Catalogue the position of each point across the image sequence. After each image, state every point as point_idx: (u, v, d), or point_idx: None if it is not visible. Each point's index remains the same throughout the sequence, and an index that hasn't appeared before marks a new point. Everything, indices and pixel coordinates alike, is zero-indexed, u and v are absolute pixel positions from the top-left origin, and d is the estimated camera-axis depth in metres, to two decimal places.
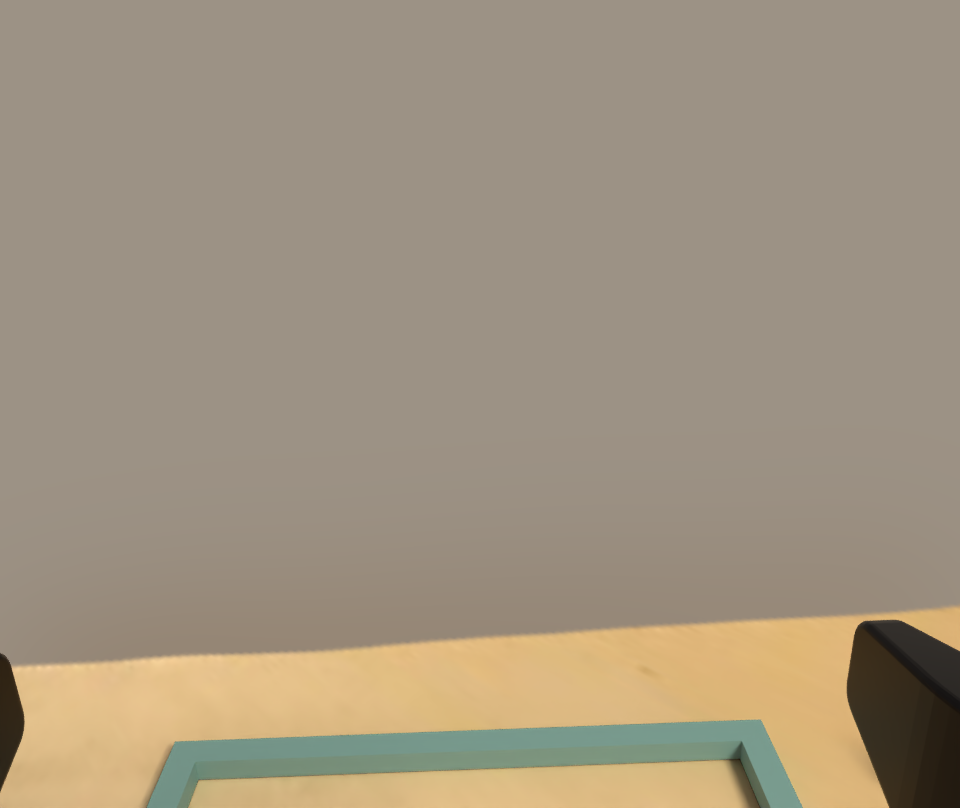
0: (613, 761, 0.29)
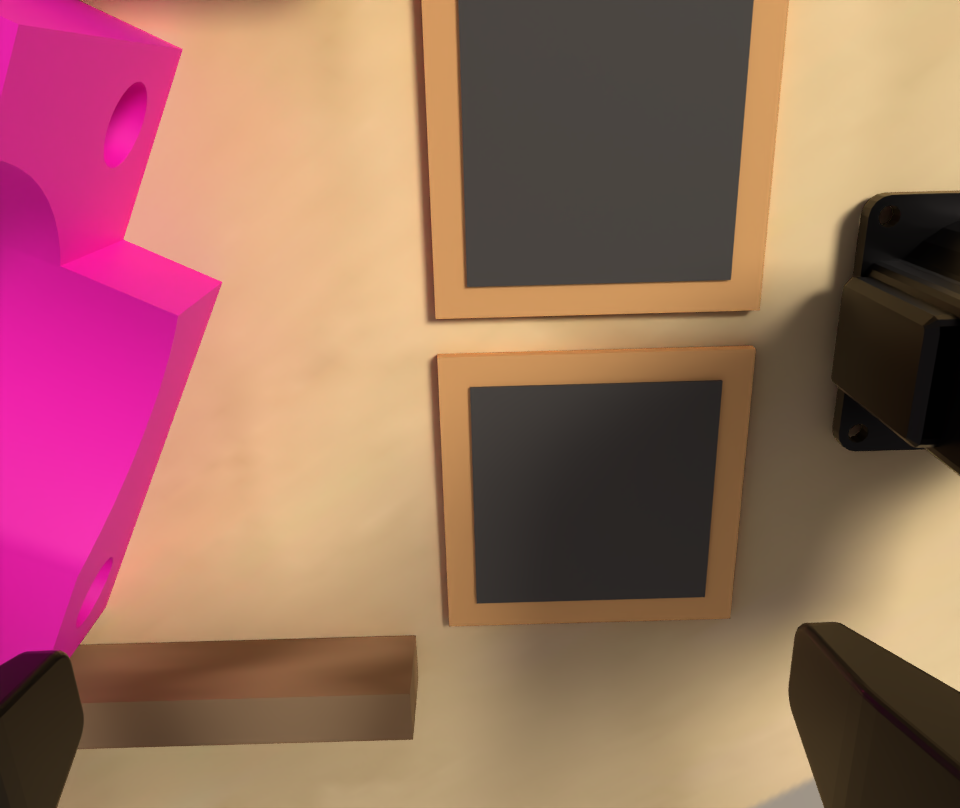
0: None
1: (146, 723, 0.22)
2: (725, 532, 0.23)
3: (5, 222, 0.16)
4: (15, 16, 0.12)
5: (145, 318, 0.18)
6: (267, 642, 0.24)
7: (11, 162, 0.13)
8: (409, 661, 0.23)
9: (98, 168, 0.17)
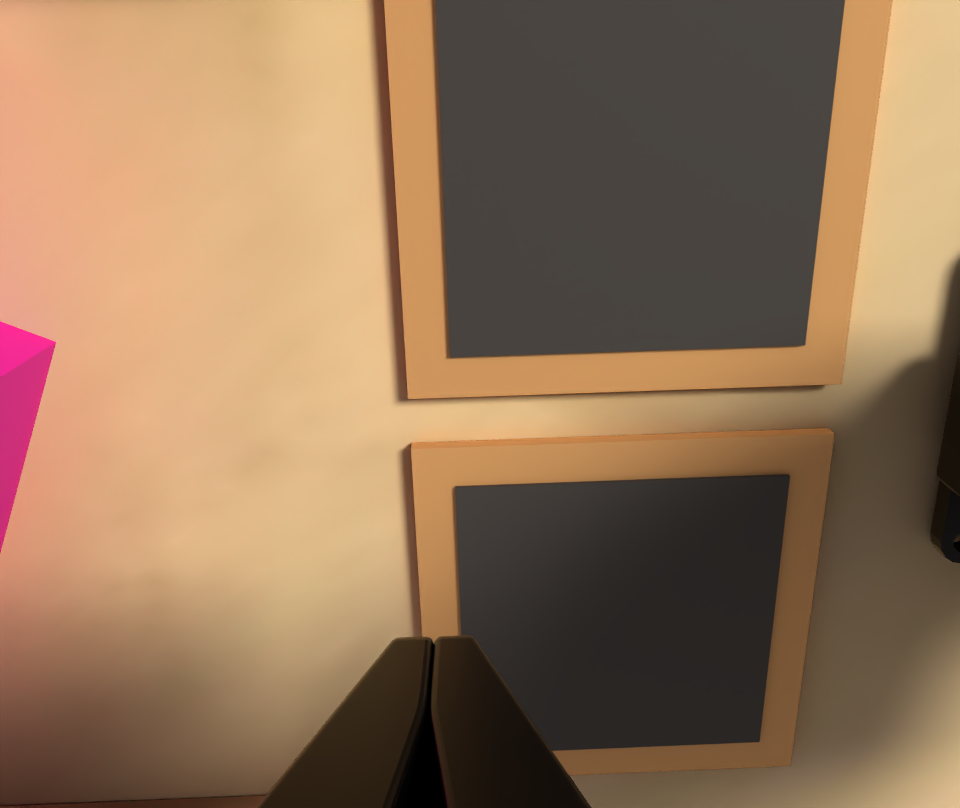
0: None
1: None
2: (787, 663, 0.18)
3: None
4: None
5: None
6: (197, 802, 0.19)
7: None
8: None
9: None
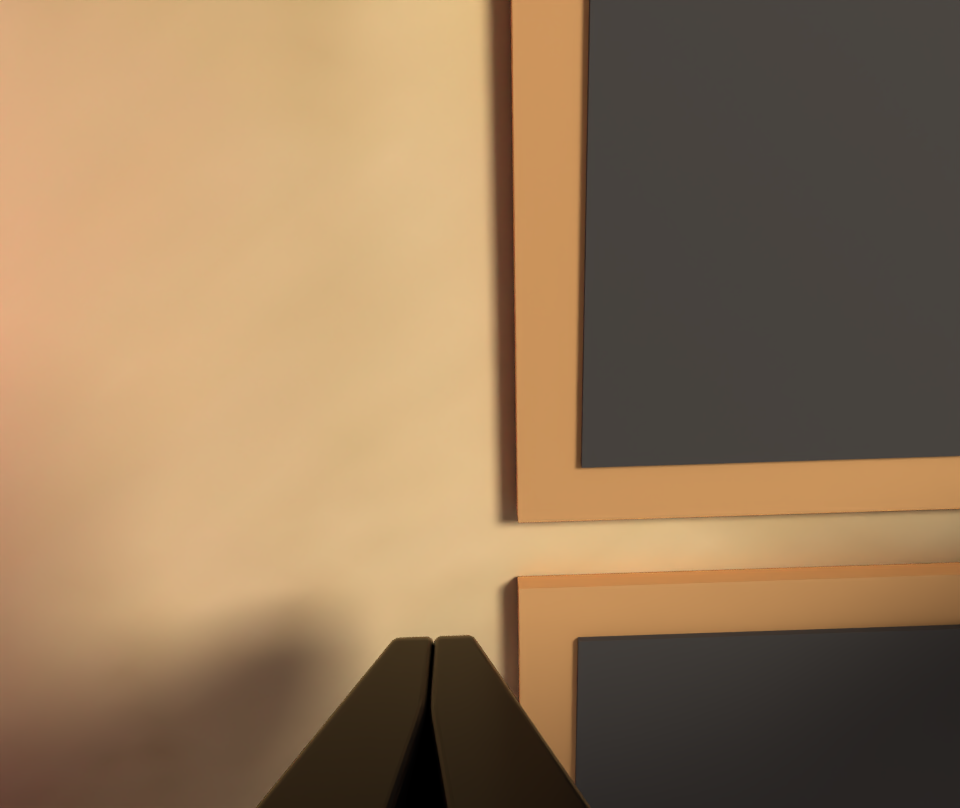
0: None
1: None
2: None
3: None
4: None
5: None
6: None
7: None
8: None
9: None
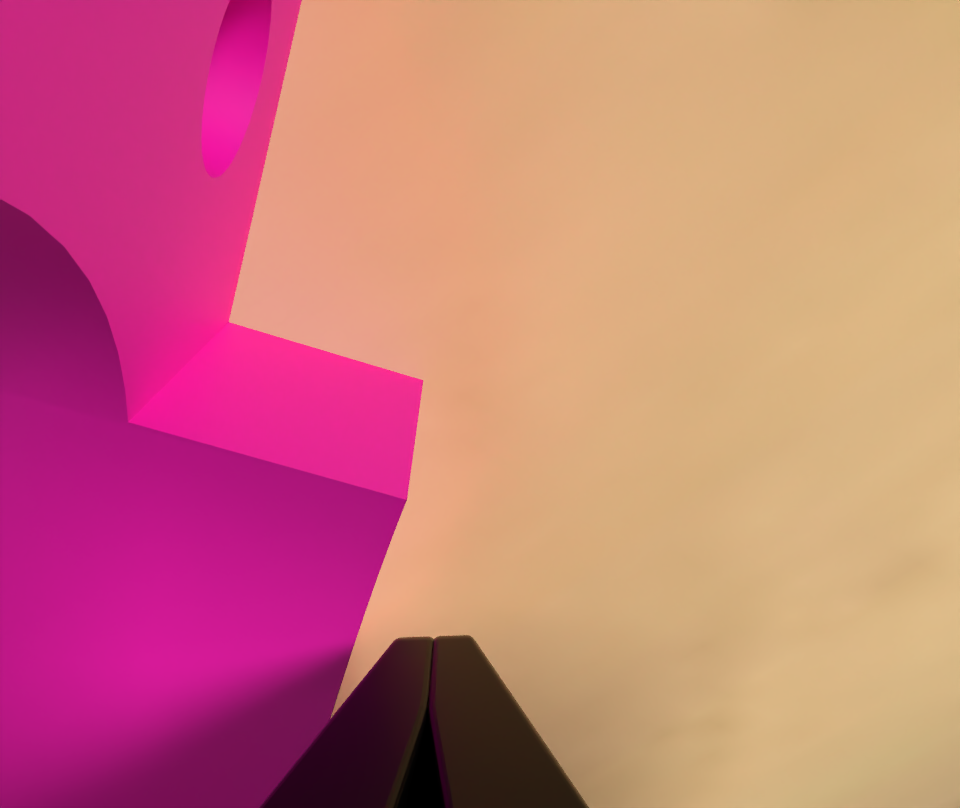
0: None
1: None
2: None
3: None
4: None
5: (327, 509, 0.08)
6: None
7: None
8: None
9: (192, 180, 0.07)
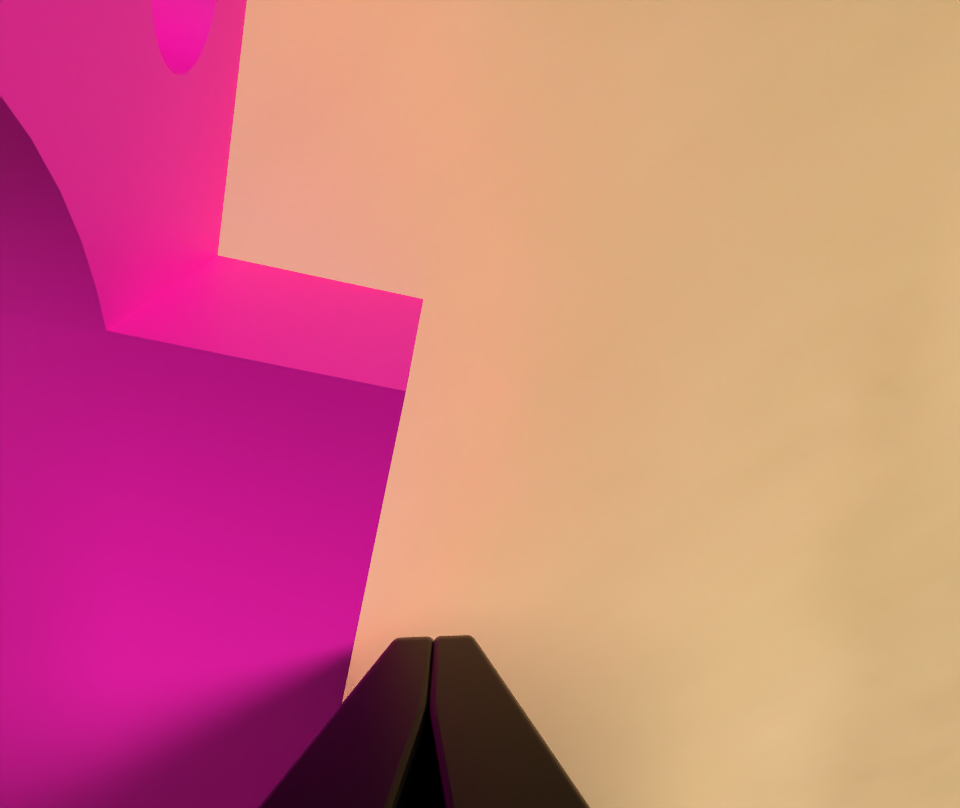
0: None
1: None
2: None
3: None
4: None
5: (325, 413, 0.07)
6: None
7: None
8: None
9: (148, 65, 0.07)
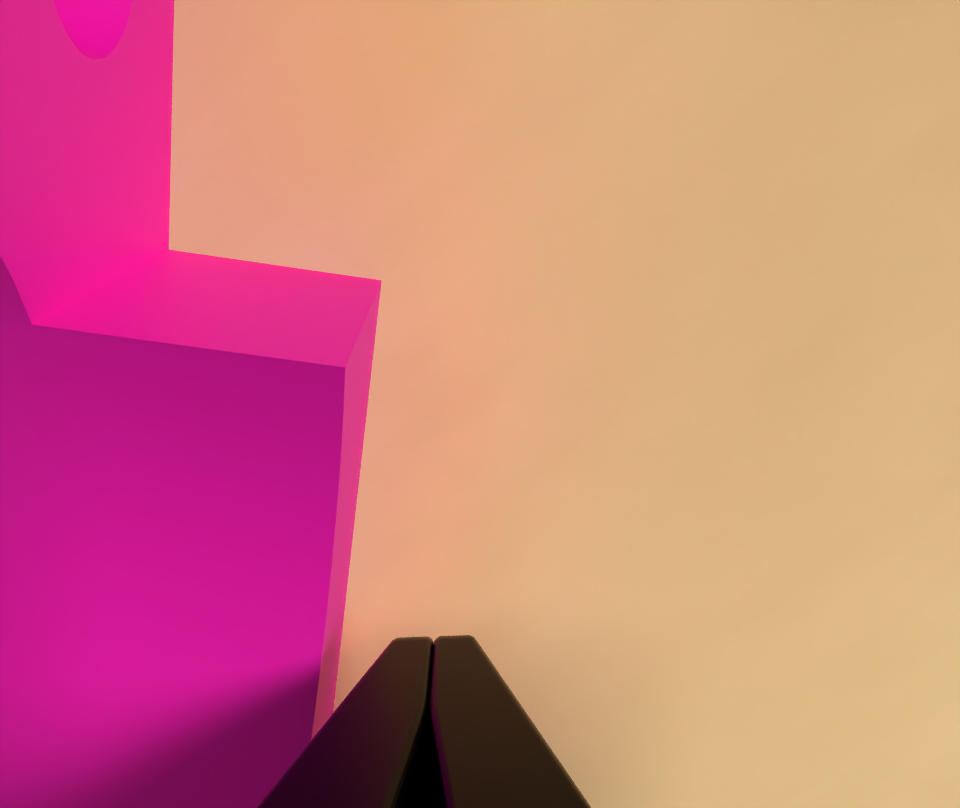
0: None
1: None
2: None
3: None
4: None
5: (267, 395, 0.07)
6: None
7: None
8: None
9: (51, 47, 0.06)
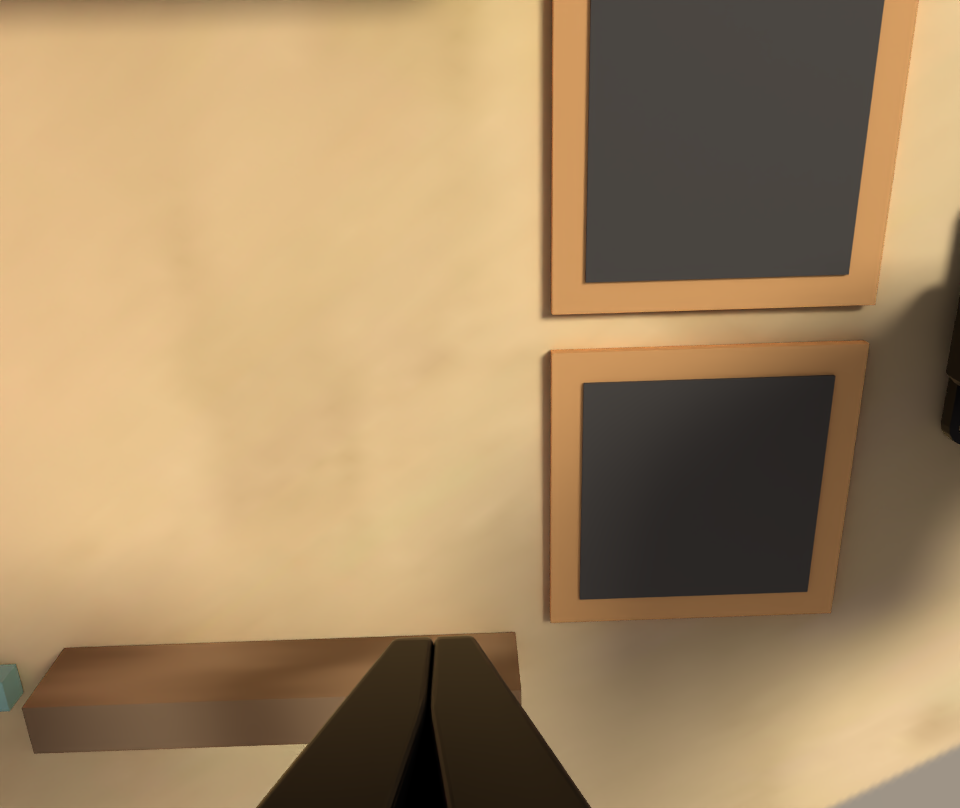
0: None
1: (255, 721, 0.22)
2: (830, 527, 0.23)
3: None
4: None
5: None
6: (368, 640, 0.24)
7: None
8: (514, 658, 0.23)
9: None
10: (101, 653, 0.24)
